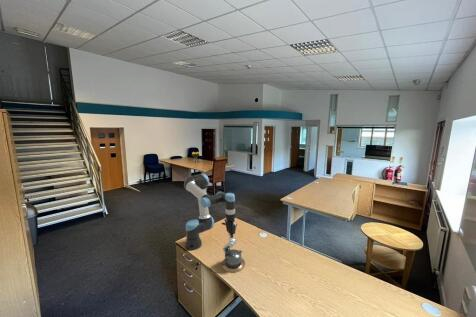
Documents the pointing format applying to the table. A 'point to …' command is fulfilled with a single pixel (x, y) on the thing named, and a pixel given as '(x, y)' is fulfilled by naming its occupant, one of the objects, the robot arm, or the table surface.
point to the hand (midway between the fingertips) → (231, 240)
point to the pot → (233, 261)
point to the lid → (230, 245)
